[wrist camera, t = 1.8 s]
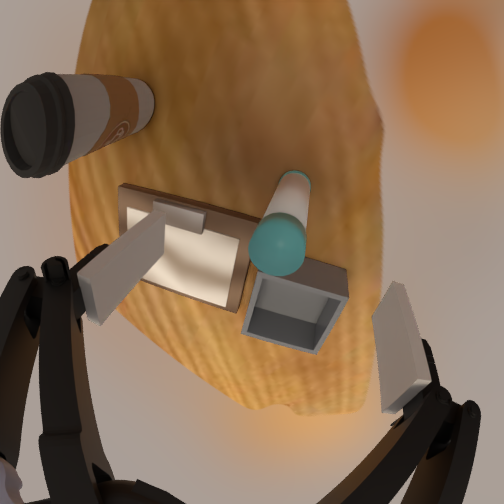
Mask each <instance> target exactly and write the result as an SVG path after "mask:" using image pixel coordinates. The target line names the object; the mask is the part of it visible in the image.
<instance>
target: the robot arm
mask: <svg viewBox="0 0 504 504" xmlns="http://www.w3.org/2000/svg"><path fill="white" fill-rule="evenodd" d="M165 222H166V213H164V212H160V211H156V210H154V211H152V212H151V213H150V214H148V215H147V216H146V217H144V218H143V219H142V220H141V221H139V222H138V223H137V224H135V225H134V226H133V227H131V228H130V229H129V230H128V231H126V232H125V233H124V234H123V235H121V236H120V237H119V238H118V239H116V240H115V241H114V242H113V243H111V244H110V245H108V244H103V245H101V246H98V247H96V248H95V249H94V250H92V251H91V252H90V254H87V255H86V256H85V257H84V258H83V259H81V260H80V261H79V262H78V263H77V264H76V265H74V266H73V267H72V268H71V269H70V270H69V266H68V261H67V259H66V258H64V257H61V256H55V257H51V258H49V259H47V260H45V261H44V262H43V263H42V265H41V270H42V273H43V277H37V276H36V274H35V271H34V269H33V268H32V267H29V266H23V267H20V268H19V269H17V270H16V271H15V272H14V273H13V275H12V276H11V278H10V280H9V282H8V283H7V285H6V287H5V289H4V291H3V293H2V295H1V297H0V504H185V503H184V502H182V501H181V500H179V499H177V498H176V497H174V496H173V495H171V494H170V493H168V492H166V491H164V490H162V489H159V488H157V487H154V486H152V485H149V484H147V483H145V482H143V481H140V480H138V479H137V481H136V482H135V481H128V480H115V478H114V475H113V472H112V470H111V467H110V464H109V462H108V460H107V458H106V456H105V454H104V451H103V447H102V444H101V440H100V436H99V432H98V428H97V424H96V420H95V414H94V410H93V404H92V399H91V394H90V388H89V381H88V375H87V367H86V358H85V349H84V337H83V323H82V318H81V316H82V315H83V314H84V312H85V311H86V314H87V317H88V320H89V321H91V322H93V323H95V324H97V325H99V326H101V325H102V324H103V323H104V321H105V320H106V319H107V318H108V317H109V315H110V314H111V313H112V312H113V311H114V310H115V308H116V307H117V306H118V305H119V304H120V303H121V301H122V300H123V299H124V298H125V297H126V296H127V294H128V293H129V292H130V291H131V290H132V289H133V288H134V286H135V285H136V284H137V283H138V282H139V281H140V280H141V279H142V277H143V276H144V275H145V274H146V273H147V272H148V271H149V270H150V269H151V267H152V266H153V265H154V264H155V263H156V262H157V261H158V260H159V259H160V258H161V257H162V255H163V254H164V240H165ZM372 322H373V328H374V336H375V343H376V351H377V359H378V370H379V380H380V392H381V408H382V413H390V414H396V413H397V412H398V411H399V410H400V409H402V408H403V415H402V416H401V417H400V418H398V419H397V420H396V421H395V422H393V423H392V424H391V426H392V428H391V429H390V430H389V431H388V433H387V434H386V435H385V436H384V437H383V439H382V440H381V441H380V442H379V443H378V444H377V446H376V447H375V448H374V449H373V450H372V451H371V452H370V453H369V454H368V455H367V457H366V458H365V459H364V460H363V461H362V462H361V463H360V464H359V465H358V466H357V467H356V468H355V469H354V470H353V471H352V472H351V473H350V474H349V475H348V476H347V477H346V478H345V479H344V480H343V481H342V482H341V483H340V484H338V485H337V486H336V487H335V488H334V489H333V490H332V491H331V492H330V493H329V494H327V495H326V496H325V497H324V498H323V499H321V500H320V501H319V502H318V503H317V504H389V502H390V501H391V500H392V499H393V497H394V496H395V495H396V494H397V493H398V491H399V490H400V489H401V487H402V486H403V485H404V483H405V482H406V481H407V479H408V478H409V476H410V475H411V474H412V472H413V471H414V469H415V468H416V466H417V468H416V470H415V473H414V475H413V478H412V480H411V482H410V485H409V487H408V489H407V491H406V493H405V495H404V497H403V500H402V502H401V504H462V502H463V499H464V496H465V493H466V489H467V486H468V482H469V478H470V474H471V471H472V466H473V462H474V457H475V452H476V447H477V441H478V435H479V428H480V420H481V411H480V408H479V406H478V405H477V404H476V403H475V402H474V401H472V400H467V402H465V403H464V404H463V405H459V404H457V403H455V402H453V401H452V398H451V395H450V393H449V392H448V390H447V389H445V388H444V387H442V386H440V382H439V377H438V373H437V370H436V365H435V364H434V363H435V362H434V358H433V354H432V351H431V347H430V346H429V344H428V343H427V341H426V340H425V339H421V337H420V333H419V330H418V326H417V323H416V320H415V317H414V313H413V311H412V307H411V304H410V301H409V298H408V295H407V292H406V289H405V287H404V284H400V283H397V282H394V281H393V282H392V283H391V285H390V287H389V289H388V290H387V292H386V294H385V295H384V297H383V299H382V301H381V302H380V304H379V306H378V307H377V309H376V310H375V312H374V314H373V315H372ZM38 347H39V388H40V403H41V414H42V424H43V433H42V434H41V435H40V436H39V450H40V456H41V461H42V466H43V471H44V475H45V480H46V484H47V488H48V491H49V495H50V498H48V499H43V500H39V501H34V502H29V503H24V502H23V500H22V498H21V496H20V492H19V490H20V489H21V488H22V481H21V479H20V478H19V476H18V474H17V472H16V470H15V469H16V466H17V462H18V457H19V451H20V442H21V433H22V424H23V416H24V410H25V404H26V398H27V393H28V388H29V383H30V378H31V374H32V370H33V366H34V362H35V358H36V354H37V350H38Z"/></svg>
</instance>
